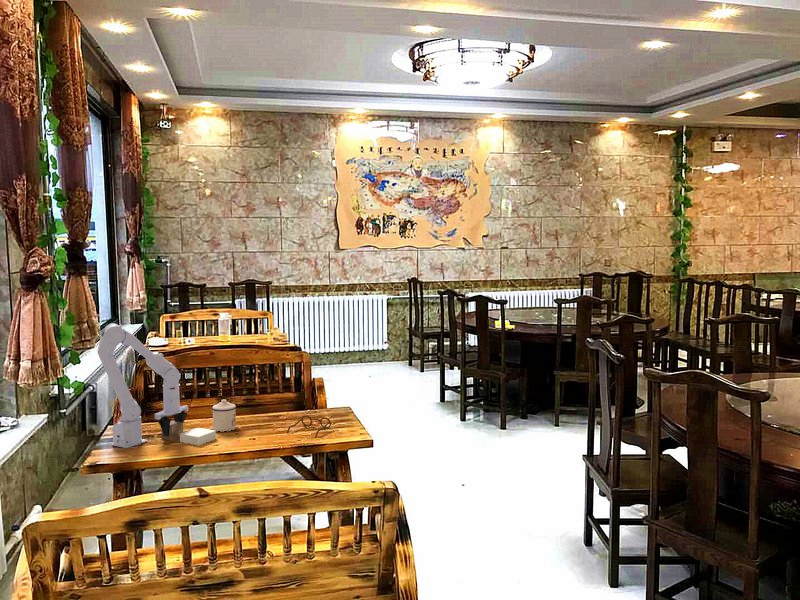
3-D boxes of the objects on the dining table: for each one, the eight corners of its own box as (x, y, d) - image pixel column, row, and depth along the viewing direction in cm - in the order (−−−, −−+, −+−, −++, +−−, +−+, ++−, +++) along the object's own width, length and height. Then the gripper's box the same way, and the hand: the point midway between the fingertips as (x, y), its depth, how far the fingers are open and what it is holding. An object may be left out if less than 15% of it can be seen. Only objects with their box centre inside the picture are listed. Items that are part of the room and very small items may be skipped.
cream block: (198, 446, 238) (198, 437, 238) (180, 443, 242) (179, 433, 242) (216, 439, 246) (215, 430, 246) (197, 436, 250) (197, 427, 250)
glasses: (331, 429, 260) (331, 417, 260) (315, 438, 248) (315, 425, 248) (302, 426, 265) (302, 414, 265) (285, 435, 253) (285, 422, 252)
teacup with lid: (237, 431, 257) (237, 401, 256) (213, 433, 254) (212, 403, 253) (234, 423, 268) (233, 394, 267) (211, 425, 265) (210, 396, 264)
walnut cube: (172, 440, 244) (171, 426, 244) (161, 438, 247) (161, 424, 246) (183, 436, 249) (183, 422, 248) (172, 434, 251) (172, 420, 251)
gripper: (164, 403, 238) (165, 440, 239) (193, 395, 251) (194, 430, 252) (150, 401, 241) (151, 437, 243) (180, 393, 254) (181, 427, 255)
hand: (172, 433), depth 248 cm, fingers closed on walnut cube, 5 cm apart
